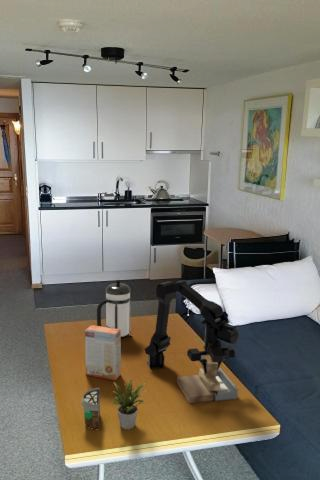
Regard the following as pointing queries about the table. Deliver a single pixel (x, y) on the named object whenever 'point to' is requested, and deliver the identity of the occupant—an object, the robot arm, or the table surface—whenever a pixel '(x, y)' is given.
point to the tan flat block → (194, 389)
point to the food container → (91, 407)
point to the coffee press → (116, 307)
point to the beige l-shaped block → (210, 376)
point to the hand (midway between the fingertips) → (210, 372)
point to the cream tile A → (222, 389)
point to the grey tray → (231, 387)
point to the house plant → (128, 405)
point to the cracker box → (103, 352)
